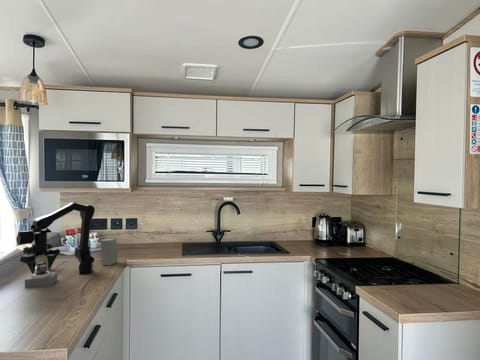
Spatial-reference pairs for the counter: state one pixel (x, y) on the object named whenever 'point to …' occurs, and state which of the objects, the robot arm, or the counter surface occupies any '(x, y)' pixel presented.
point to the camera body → (41, 279)
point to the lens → (41, 268)
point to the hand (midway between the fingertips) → (41, 271)
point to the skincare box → (108, 251)
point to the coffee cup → (44, 258)
